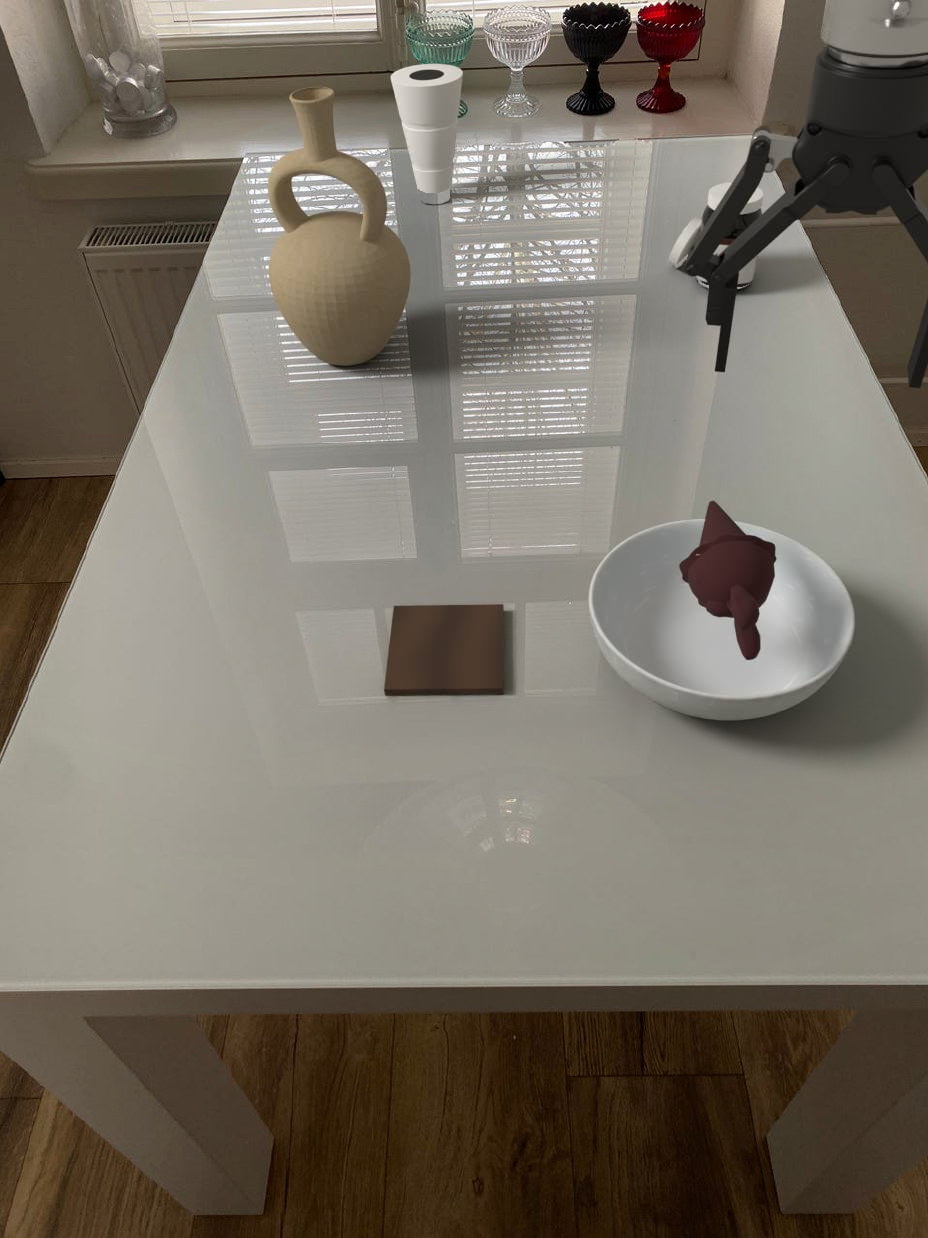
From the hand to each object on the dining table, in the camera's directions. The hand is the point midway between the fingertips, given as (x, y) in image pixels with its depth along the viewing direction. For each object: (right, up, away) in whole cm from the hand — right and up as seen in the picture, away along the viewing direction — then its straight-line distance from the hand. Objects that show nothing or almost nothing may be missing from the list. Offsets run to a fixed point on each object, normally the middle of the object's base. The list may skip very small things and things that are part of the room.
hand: (815, 370), depth 71 cm
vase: (-40, +15, +50) cm, 66 cm away
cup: (-31, +49, +83) cm, 101 cm away
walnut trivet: (-28, -21, +13) cm, 37 cm away
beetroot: (-5, -17, +6) cm, 19 cm away
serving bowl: (-5, -22, +11) cm, 25 cm away
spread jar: (+7, +28, +60) cm, 66 cm away
